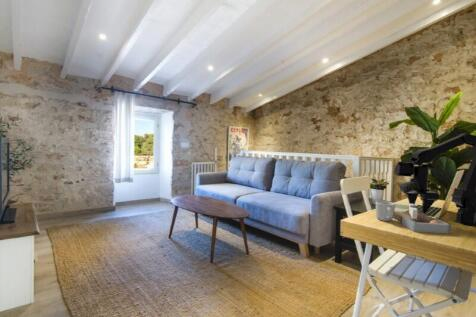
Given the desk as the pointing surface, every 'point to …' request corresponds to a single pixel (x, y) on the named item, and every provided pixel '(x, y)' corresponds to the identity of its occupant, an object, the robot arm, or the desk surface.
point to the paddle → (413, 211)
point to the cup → (385, 210)
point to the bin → (427, 226)
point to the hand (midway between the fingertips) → (417, 210)
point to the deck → (420, 217)
